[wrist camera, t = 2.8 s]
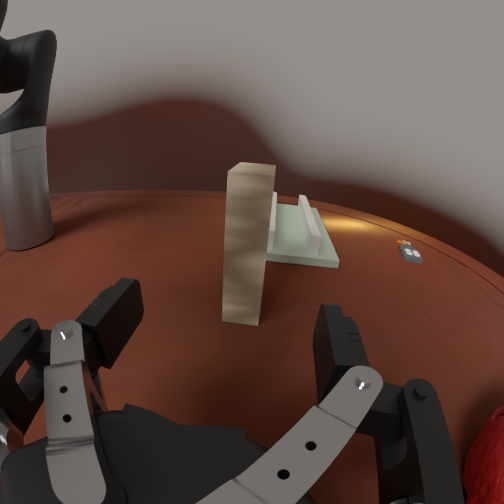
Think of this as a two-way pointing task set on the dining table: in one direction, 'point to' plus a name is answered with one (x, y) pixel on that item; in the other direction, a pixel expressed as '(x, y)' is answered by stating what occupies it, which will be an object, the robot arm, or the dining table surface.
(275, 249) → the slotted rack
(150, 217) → the dining table surface
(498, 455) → the pomegranate
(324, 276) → the dining table surface
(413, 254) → the key chain
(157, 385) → the dining table surface
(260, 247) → the beige tall block
